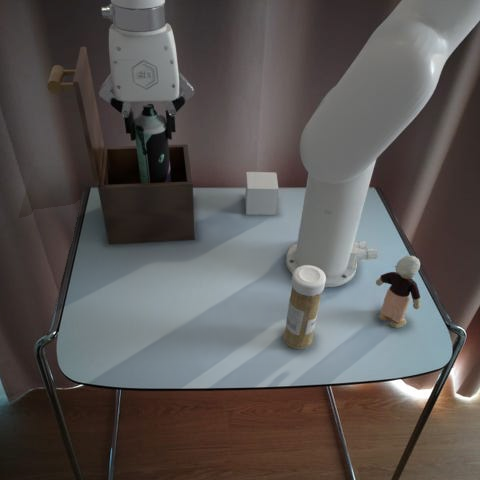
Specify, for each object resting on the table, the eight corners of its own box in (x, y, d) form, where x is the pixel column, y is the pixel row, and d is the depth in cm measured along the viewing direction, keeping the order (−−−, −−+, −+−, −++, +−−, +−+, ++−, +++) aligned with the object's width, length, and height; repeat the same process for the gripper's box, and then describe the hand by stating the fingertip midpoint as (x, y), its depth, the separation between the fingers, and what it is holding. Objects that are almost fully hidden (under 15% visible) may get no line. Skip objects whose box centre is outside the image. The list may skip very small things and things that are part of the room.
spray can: (168, 219, 93) (159, 114, 78) (140, 215, 93) (126, 110, 79) (176, 203, 96) (169, 100, 82) (149, 199, 97) (138, 96, 82)
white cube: (246, 214, 99) (247, 188, 95) (245, 197, 103) (246, 171, 99) (276, 215, 99) (278, 188, 95) (273, 198, 103) (276, 172, 99)
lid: (85, 46, 79) (51, 47, 78) (78, 81, 70) (39, 82, 69) (103, 144, 91) (74, 145, 91) (99, 185, 82) (66, 187, 81)
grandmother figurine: (415, 320, 81) (441, 260, 71) (407, 334, 78) (433, 275, 69) (371, 301, 83) (391, 241, 74) (362, 315, 81) (381, 255, 72)
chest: (190, 198, 102) (187, 144, 93) (194, 239, 93) (192, 184, 84) (111, 201, 100) (102, 146, 91) (109, 244, 91) (97, 187, 82)
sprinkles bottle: (315, 347, 76) (331, 283, 66) (287, 352, 75) (298, 288, 65) (306, 326, 79) (319, 261, 69) (279, 330, 78) (288, 265, 68)
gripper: (75, 25, 67) (98, 149, 81) (201, 24, 69) (203, 145, 83) (80, 8, 72) (101, 127, 86) (197, 8, 74) (200, 124, 88)
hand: (151, 135), depth 84 cm, fingers closed on spray can, 5 cm apart
